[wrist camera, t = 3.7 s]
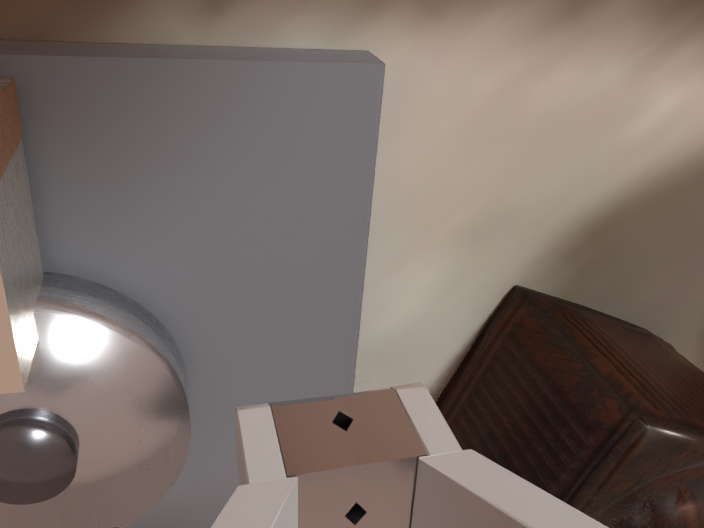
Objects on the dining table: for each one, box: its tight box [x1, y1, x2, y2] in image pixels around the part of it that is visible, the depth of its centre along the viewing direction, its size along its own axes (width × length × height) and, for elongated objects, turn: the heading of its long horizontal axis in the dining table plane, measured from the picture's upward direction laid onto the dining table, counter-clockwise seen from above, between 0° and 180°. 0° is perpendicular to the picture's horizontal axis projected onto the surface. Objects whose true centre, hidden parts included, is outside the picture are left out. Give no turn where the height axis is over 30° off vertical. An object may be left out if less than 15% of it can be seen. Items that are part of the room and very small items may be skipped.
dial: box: [0, 78, 191, 528], centre depth 20 cm, size 16×10×5 cm, turn 176°
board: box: [0, 40, 385, 528], centre depth 24 cm, size 23×23×2 cm
